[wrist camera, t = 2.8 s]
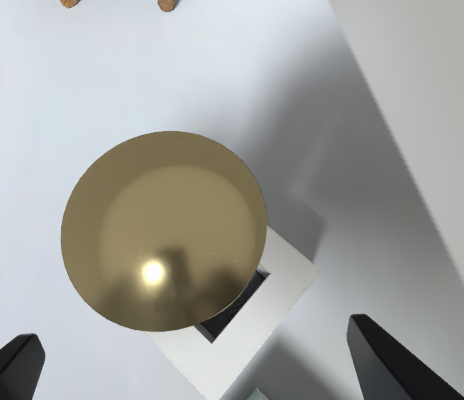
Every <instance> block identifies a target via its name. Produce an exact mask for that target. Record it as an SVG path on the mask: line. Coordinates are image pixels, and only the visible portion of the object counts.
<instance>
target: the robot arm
mask: <svg viewBox="0 0 464 400" xmlns="http://www.w3.org/2000/svg"><path fill="white" fill-rule="evenodd" d="M347 342H348V346H349V349H350V353H351V356H352V359H353V363H354V366H355V370H356V373H357V377H358V380H359V384H360V387H361V391H362V394H363V397H364V400H464V397H463V396H462V395H461V394H460V393H458V392H457V391H456V390H455V389H454V388H453V387H451V386H450V385H449V384H448V383H447V382H445V381H444V380H443V379H442V378H441V377H440V376H438V375H437V374H436V373H435V372H434V371H432V370H431V369H430V368H429V367H428V366H427V365H425V364H424V363H423V362H422V361H421V360H419V359H418V358H417V357H416V356H415V355H414V354H412V353H411V352H410V351H409V350H408V349H406V348H405V347H404V346H403V345H402V344H401V343H399V342H398V341H397V340H396V339H395V338H393V337H392V336H391V335H390V334H389V333H388V332H386V331H385V330H384V329H383V328H382V327H380V326H379V325H378V324H377V323H376V322H375V321H373V320H372V319H371V318H370V317H369V316H367V315H366V314H352V315H351V316H350V318H349V324H348V330H347ZM44 361H45V351H44V349H43V347H42V344H41V342H40V340H39V338H38V336H37V335H36V334H34V333H31V334H21V335H18V336H17V337H15V338H14V339H13V340H12V341H10V342H9V343H8V344H6V345H5V346H4V347H3V348H1V349H0V400H32V398H33V395H34V392H35V389H36V386H37V383H38V380H39V377H40V374H41V371H42V368H43V365H44Z"/></svg>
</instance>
